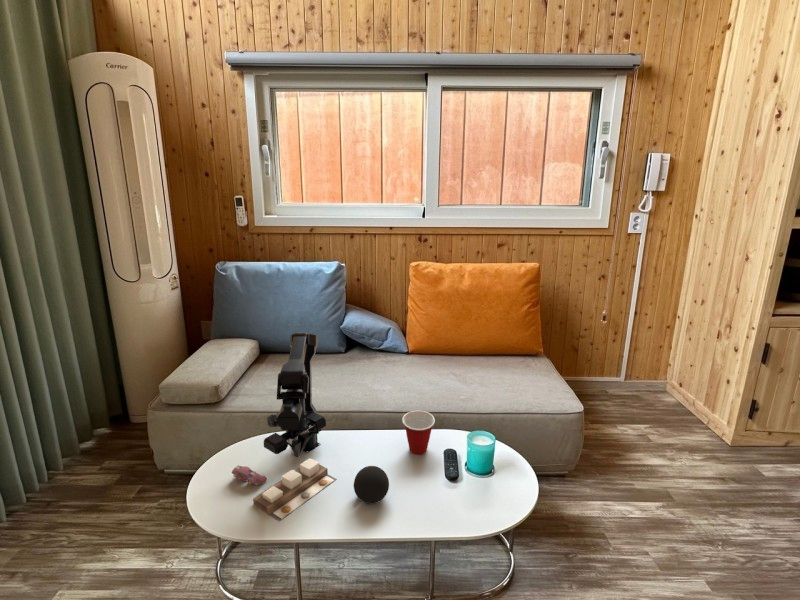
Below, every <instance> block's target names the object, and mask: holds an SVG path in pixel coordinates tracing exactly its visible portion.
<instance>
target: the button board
mask: <svg viewBox="0 0 800 600" xmlns="http://www.w3.org/2000/svg"><path fill="white" fill-rule="evenodd" d="M328 470H329V469H328V467H325V466H323V465H321V464H320V463H319V471H318V472H317V473H315V474H314V475H313V476H311V477H310V478H309V477H307V476H306V475H304V474H302V473H300V467H299V468H297V469H296V470H295V471H296V472H298V473H300V474H301V475H302V483H301V484H299V485H298V486H296V487H295V488H294V489H292V490H290V489H289V488H287V487H285V486H284V485H282V479H281V480H279V481H277V482H276V483H274V484H273V485H271V486H270V487H268V488H267V489H265V490H264V491H262V492H261V493H259V494H258V495H256V496H255V497H252V500H253V501H252V502H253V504H252V505H253V506H255V507H256V508H258V509H260V510H261V511H262V512H264V513H266V514H267V515H268V516H270V517H272V518H273V519H274V520H276V521H278V522H279V523H280V522H282V521H283V520H284V519H285V518H287V517H288V516H290V515H291V514H292V513H294V512H295V511H297V510H298V509H299V508H300V507H302V506H303V505H305V504H306V503H307V502H308V501H310V500H311V499H313V498H314V497H315V496H317V495H318V494H319V493H321V492H322V491H324V490H325V489H326V488H327V487H330V485H331V484H334V482H336V481H337V480H338V479H337V478H335V477H334V476H332V475H330V474H329V471H328ZM273 486H275V487H276V488H278V489H280V490H281V491H283V496H282V497H280V498H279V499H278V500H276V501H275V502H273V503H272V504H271V503H270V502H268V501H267V500H265V499H263V498H262V493H263V492H265V491H267V490H268V489H270V488H271V487H273Z"/></svg>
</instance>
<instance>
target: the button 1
mask: <svg viewBox="0 0 800 600" xmlns="http://www.w3.org/2000/svg"><path fill="white" fill-rule="evenodd" d="M272 486H273V485H272ZM270 487H271V486H270ZM270 487H269V488H270ZM267 489H268V488H267ZM267 489H266V490H267ZM264 491H265V490H264ZM264 491H262V492H263V493H262V492H261V493H262V498H263V499H265V500H267V501H268V502H270V503H271V504H272V503H273V502H275V501H276V500H278V499H279V498H280V497H282V496H283V491H281V490H280V489H278V488H276V487H275V486H273V487H271V488H270V489H268V490H267V491H265V492H264Z"/></svg>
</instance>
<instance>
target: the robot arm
mask: <svg viewBox="0 0 800 600" xmlns="http://www.w3.org/2000/svg"><path fill="white" fill-rule="evenodd" d="M318 346H319V337H318V336H317V335H316V334H315V333H309V332H307V331H303V332H299V331H298V332H297V331H295V332H294V333H292V334H291V335H290V336H289V347H290V352H289V356H288V360H287V362H286V363H284V364H283V365H282V367H281V369H280V372H279V373H278V374H277V384H276V385H277V386H276V400H281V401H282V404H281V407H280V409H279V412H278V413H275V414H270V415H268V416H267V425H268V426H269V428H276V427H278V428H279V427H280V430H281V431H282V432H284V431H285V432H284V433H282V434H278V433H277V432H275V433H273V434H271V435H269V436H267V437H265V438H264V439H263V447H264V449H266V450H268V451H269V452H271V453H273V454H274V455H280V454H281V453H282V452H284V451H286V450H287V449H288V446H289V448H290V449H291V451H292V452H293V454H294V457H295V458H297V459H299V458H300V457H301V456H302V453H306V454H307V453H308V454H309V453H310V452H312V451H314V450H315V449H316V448H318V447H319V446H321V443H320V442H318V435H319V434H320V432H321V431H322V429H324V427H326V426H327V419H326V418H325V417H324V416H323V415H320V414H319V413H317V411H318V410H317V409H316V407H315V406H314V404H313V398H312V397H313V391H312V388H313V387H312V385H313V383H312V380H313V379H312V376H313V375H312V374H313V373H312V370H313V369H312V359H313V358H314V356H315V354H316V352H317V348H318ZM281 390H283V391H281Z"/></svg>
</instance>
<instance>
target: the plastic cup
mask: <svg viewBox="0 0 800 600" xmlns="http://www.w3.org/2000/svg"><path fill="white" fill-rule="evenodd" d="M435 422H436V420H435V417H434V416H433V414H431V413H430V412H428V411H424V410H412V411H408V412H407V413H404V415H403V416H402V424H403V425H404V428H405V434H406V439H407V443H408V449H409V451H410V453H411V454H413V455H417V456H419V455H420V456H421V455H423V454H425V453H426V452H427V450H428V446H429V443H430V438H431V433H432V429H433V426H434V424H435Z"/></svg>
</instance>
